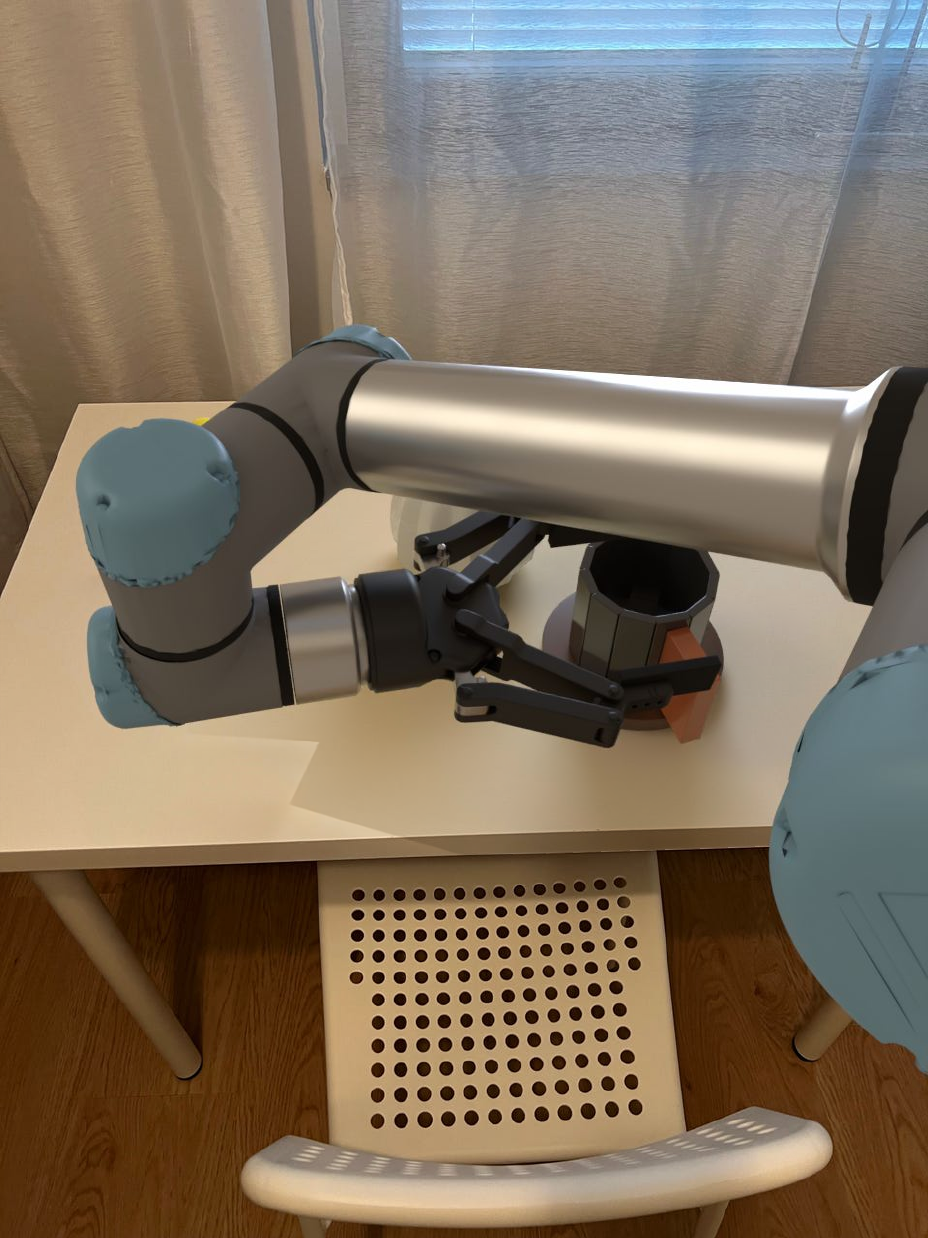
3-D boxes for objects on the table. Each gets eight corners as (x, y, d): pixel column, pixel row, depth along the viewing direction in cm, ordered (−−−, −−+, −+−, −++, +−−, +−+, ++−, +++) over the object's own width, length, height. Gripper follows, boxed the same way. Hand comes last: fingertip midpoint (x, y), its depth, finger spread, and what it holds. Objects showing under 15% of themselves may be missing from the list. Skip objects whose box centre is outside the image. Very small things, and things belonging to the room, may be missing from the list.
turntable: (730, 613, 88) (734, 602, 87) (707, 751, 78) (711, 741, 77) (563, 575, 91) (565, 564, 90) (521, 703, 81) (522, 693, 80)
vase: (533, 515, 96) (542, 407, 86) (531, 617, 87) (541, 510, 77) (400, 508, 97) (394, 401, 87) (384, 609, 88) (375, 502, 78)
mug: (720, 618, 85) (744, 544, 78) (696, 752, 76) (722, 681, 69) (585, 588, 88) (597, 512, 80) (546, 713, 78) (556, 641, 71)
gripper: (331, 535, 69) (603, 503, 73) (393, 844, 54) (732, 781, 58) (327, 457, 63) (623, 427, 67) (395, 778, 48) (772, 714, 52)
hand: (674, 591), depth 63 cm, fingers open, 13 cm apart
